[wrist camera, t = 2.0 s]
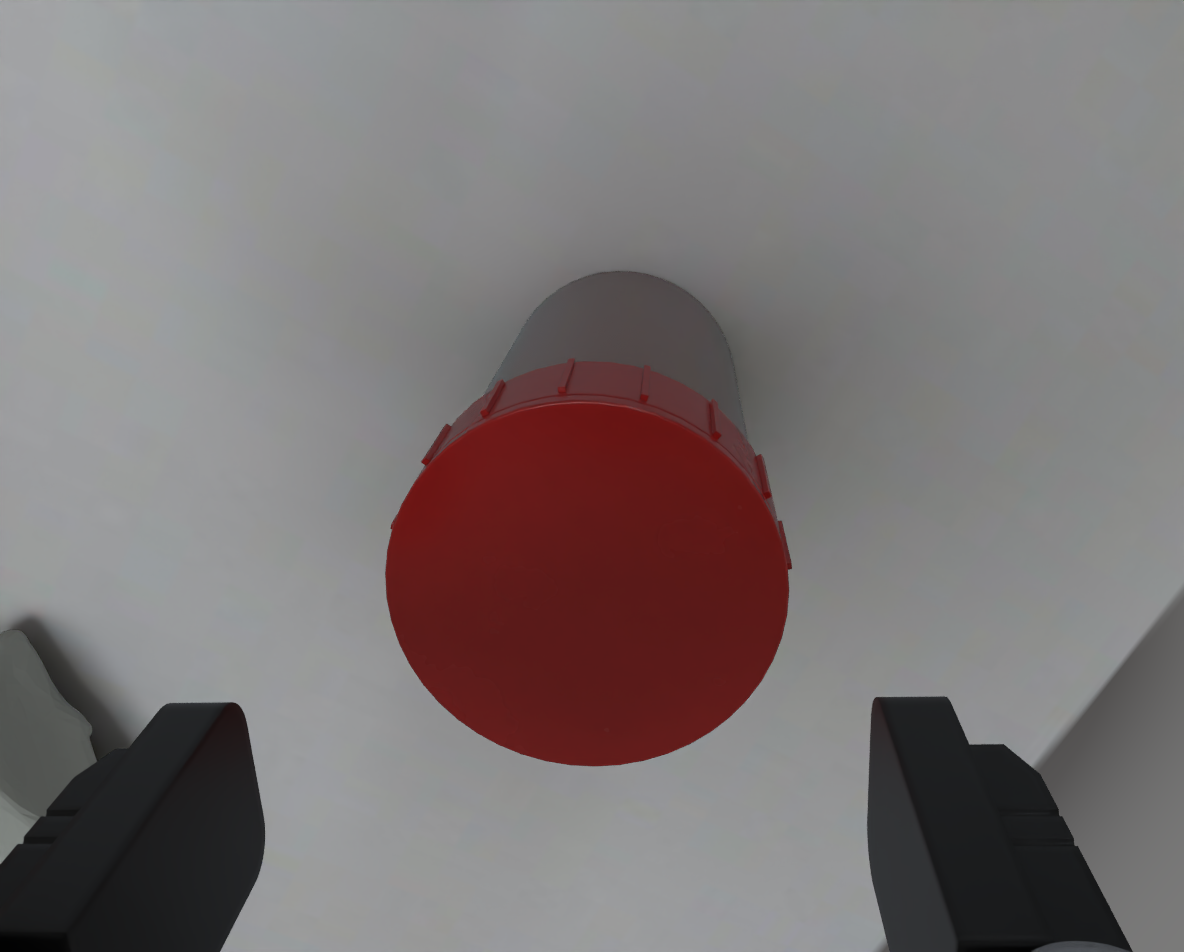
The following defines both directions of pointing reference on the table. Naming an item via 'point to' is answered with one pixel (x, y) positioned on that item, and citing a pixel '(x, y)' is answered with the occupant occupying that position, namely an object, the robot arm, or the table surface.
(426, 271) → the table surface
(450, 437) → the lid
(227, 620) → the table surface
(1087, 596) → the table surface
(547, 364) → the jar
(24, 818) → the decorative stone
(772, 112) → the table surface
